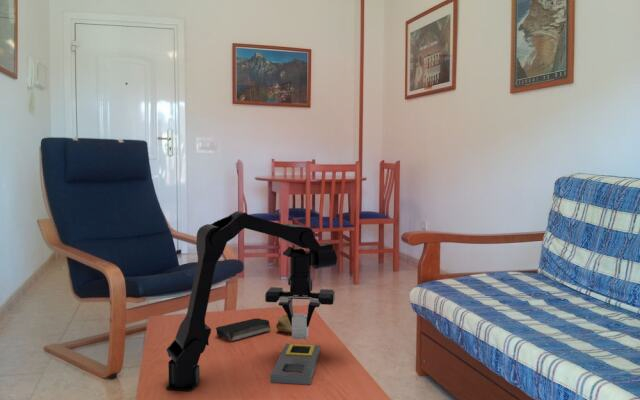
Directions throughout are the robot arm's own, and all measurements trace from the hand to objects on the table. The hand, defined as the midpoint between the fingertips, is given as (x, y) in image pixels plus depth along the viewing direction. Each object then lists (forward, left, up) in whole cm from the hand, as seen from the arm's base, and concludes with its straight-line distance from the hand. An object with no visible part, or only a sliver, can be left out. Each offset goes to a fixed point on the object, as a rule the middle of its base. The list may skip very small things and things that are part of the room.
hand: (300, 325), depth 144 cm
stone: (-6, +21, -10) cm, 24 cm away
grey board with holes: (0, -6, -9) cm, 11 cm away
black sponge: (-21, +16, -10) cm, 28 cm away
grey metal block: (0, 0, -3) cm, 3 cm away
